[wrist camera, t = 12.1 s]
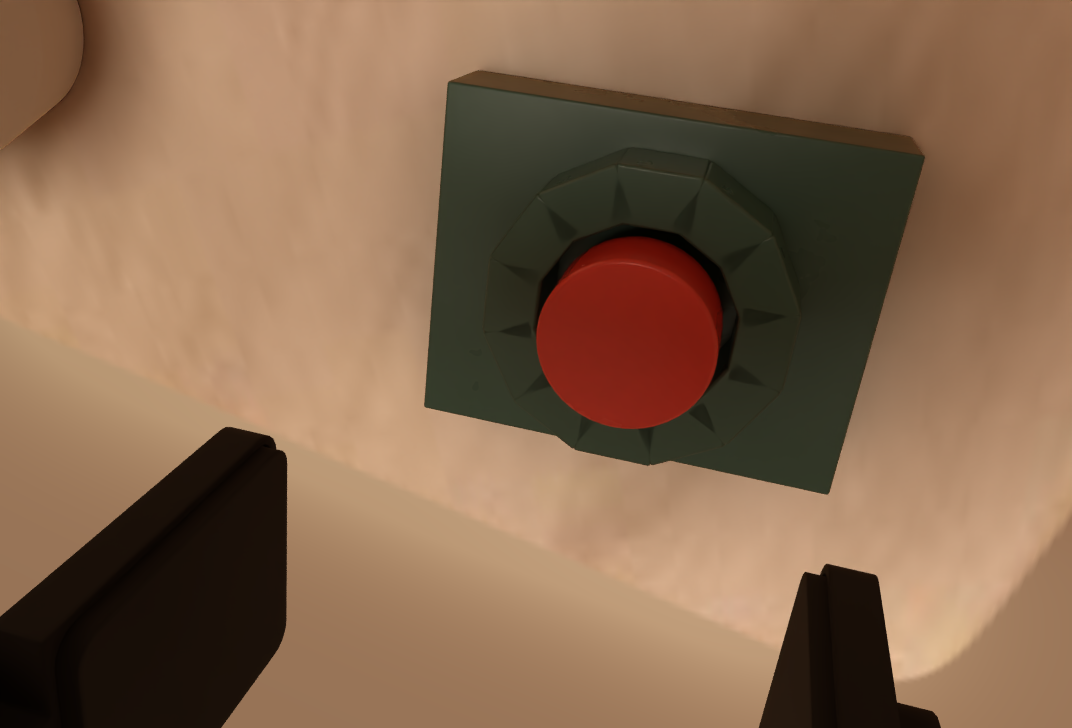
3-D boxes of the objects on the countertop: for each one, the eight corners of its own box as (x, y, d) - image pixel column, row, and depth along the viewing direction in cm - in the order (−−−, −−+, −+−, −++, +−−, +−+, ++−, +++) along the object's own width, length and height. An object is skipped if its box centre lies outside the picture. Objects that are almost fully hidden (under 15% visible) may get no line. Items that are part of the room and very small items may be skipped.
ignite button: (739, 251, 19) (735, 278, 18) (705, 410, 21) (698, 447, 19) (564, 221, 20) (546, 243, 18) (544, 376, 21) (525, 410, 20)
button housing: (913, 137, 21) (939, 174, 17) (825, 452, 24) (832, 537, 21) (476, 69, 23) (418, 91, 19) (450, 373, 26) (397, 440, 22)
